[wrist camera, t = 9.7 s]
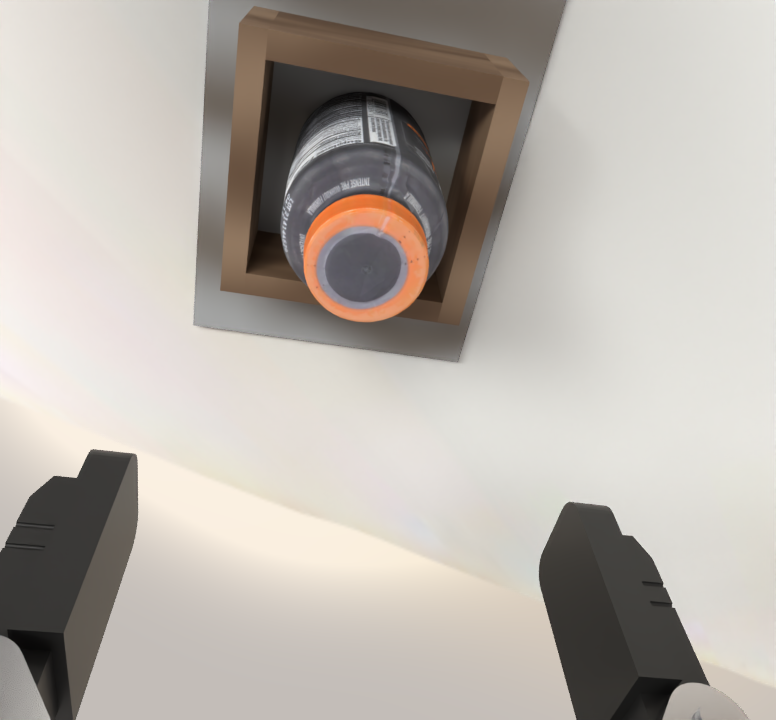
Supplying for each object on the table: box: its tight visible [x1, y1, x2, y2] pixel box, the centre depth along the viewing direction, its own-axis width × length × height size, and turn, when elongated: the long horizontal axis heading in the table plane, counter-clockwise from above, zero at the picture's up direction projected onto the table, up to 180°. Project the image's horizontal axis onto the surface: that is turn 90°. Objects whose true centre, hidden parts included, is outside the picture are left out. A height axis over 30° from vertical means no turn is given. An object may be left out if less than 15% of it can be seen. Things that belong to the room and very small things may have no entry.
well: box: [193, 0, 566, 362], centre depth 30 cm, size 20×14×5 cm
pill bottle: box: [280, 92, 448, 322], centre depth 26 cm, size 6×6×11 cm
